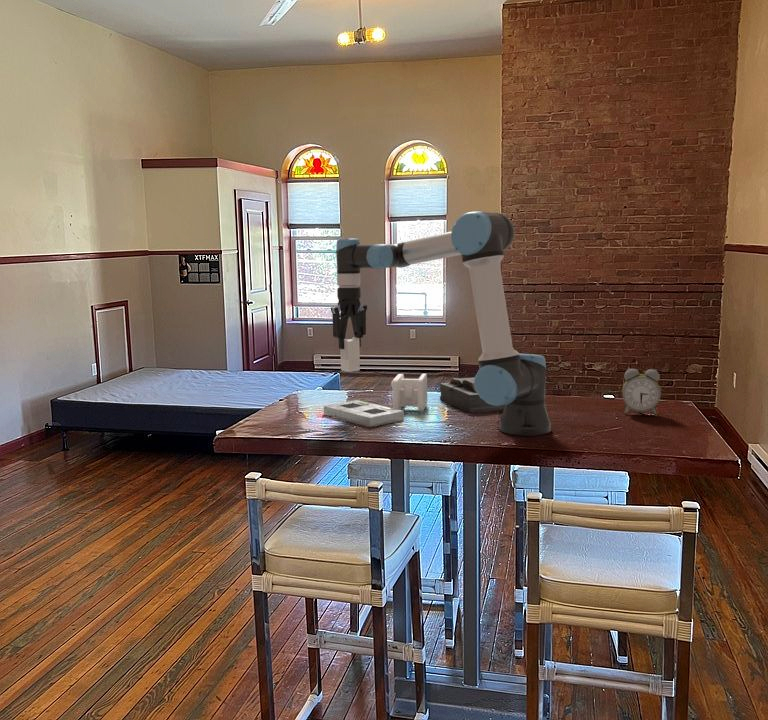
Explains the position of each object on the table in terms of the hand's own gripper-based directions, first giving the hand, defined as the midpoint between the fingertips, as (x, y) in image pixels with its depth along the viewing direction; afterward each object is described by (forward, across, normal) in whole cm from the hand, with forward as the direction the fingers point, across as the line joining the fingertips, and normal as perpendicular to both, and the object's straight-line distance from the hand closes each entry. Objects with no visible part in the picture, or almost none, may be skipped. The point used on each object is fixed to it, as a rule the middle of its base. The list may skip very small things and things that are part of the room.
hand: (350, 357), depth 240 cm
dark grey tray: (+19, -42, +18) cm, 50 cm away
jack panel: (+19, 0, +6) cm, 20 cm away
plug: (+4, 0, 0) cm, 4 cm away
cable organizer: (+19, -19, +8) cm, 28 cm away
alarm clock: (+19, -67, +66) cm, 96 cm away
